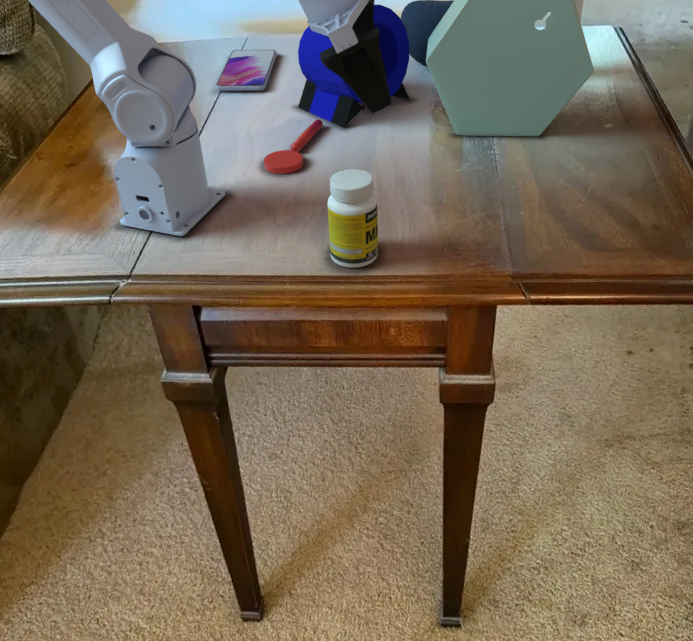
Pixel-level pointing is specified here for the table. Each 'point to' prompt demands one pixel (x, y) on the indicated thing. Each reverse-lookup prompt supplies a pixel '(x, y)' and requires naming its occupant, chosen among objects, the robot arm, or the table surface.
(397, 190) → the table surface
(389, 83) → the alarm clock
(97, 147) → the table surface
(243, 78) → the smartphone
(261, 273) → the table surface
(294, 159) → the red rod and disc
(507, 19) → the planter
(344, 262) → the supplement bottle
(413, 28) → the decorative stone
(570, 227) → the table surface
